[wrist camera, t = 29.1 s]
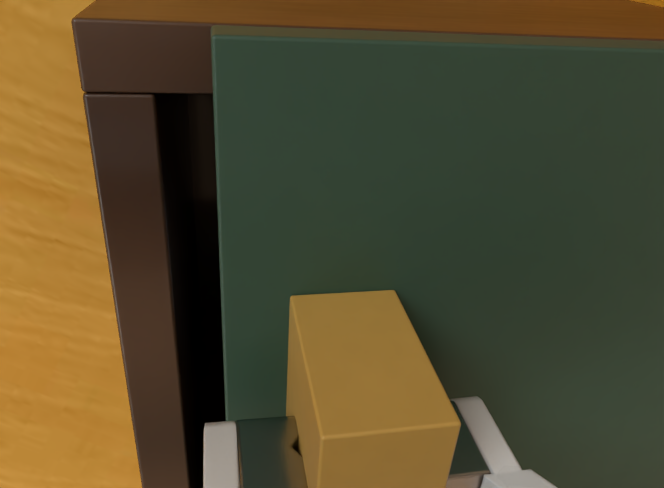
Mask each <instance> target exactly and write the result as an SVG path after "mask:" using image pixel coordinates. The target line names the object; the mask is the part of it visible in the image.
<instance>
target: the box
mask: <svg viewBox="0 0 664 488" xmlns="http://www.w3.org/2000/svg"><path fill="white" fill-rule="evenodd" d="M214 25H226V26H254V27H281V28H309V29H336V30H364V31H392V32H419V33H447V34H475V35H502V36H530V37H557V38H585V39H613V40H640V41H664V7H659V6H654V5H649V4H644V3H639V2H635V1H630V0H96V1H94V2H93V3H92V4H90V5H89V6H88V7H87V8H85V9H84V10H83V11H81V12H80V13H79V14H78V15H76V16H75V17H74V18H72V29H73V35H74V42H75V48H76V55H77V62H78V68H79V75H80V81H81V88H82V90H83V91H84V92H85V93H84V95H83V100H84V107H85V114H86V120H87V127H88V133H89V140H90V146H91V153H92V160H93V166H94V173H95V179H96V186H97V193H98V199H99V206H100V212H101V219H102V226H103V232H104V239H105V245H106V252H107V258H108V265H109V272H110V278H111V285H112V291H113V298H114V305H115V311H116V318H117V324H118V331H119V338H120V344H121V351H122V357H123V364H124V370H125V377H126V384H127V390H128V397H129V403H130V410H131V417H132V423H133V430H134V436H135V443H136V450H137V456H138V463H139V469H140V476H141V482H142V488H203V455H204V426H205V423H210V422H223V421H226V415H225V390H224V364H223V339H222V313H221V288H220V262H219V237H218V211H217V186H216V160H215V134H214V109H213V83H212V58H211V27H212V26H214Z"/></svg>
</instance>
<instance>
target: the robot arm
mask: <svg viewBox="0 0 664 488" xmlns="http://www.w3.org/2000/svg"><path fill="white" fill-rule="evenodd" d="M450 402H451V404H452V406H453V408H454V410H455V412H456V414H457V416H458V418H459V420H460V422H461V427H460V431H459V435H458V439H457V443H456V447H455V451H454V455H453V459H452V464H451V468H450V472H449V476H448V480H447V484H446V488H558V487H556V486H555V485H553V484H552V483H550V482H549V481H547V480H546V479H544V478H543V477H541V476H540V475H539V474H537V473H536V472H534V471H533V470H531V469H526V470H522V468H521V466H520V465H519V463H518V461H517V459H516V458H515V456H514V454H513V452H512V451H511V449H510V447H509V446H508V444H507V442H506V440H505V439H504V437H503V435H502V433H501V432H500V430H499V428H498V427H497V425H496V423H495V421H494V420H493V418H492V416H491V414H490V413H489V411H488V409H487V407H486V406H485V404H484V402H483V401H482V399H480V398H479V397H478V396H473V397H463V398H454V399H450ZM298 436H299V434H298V428H297V423H296V419H295V416H283V417H270V418H256V419H243V420H236V422H235V421H223V422H210V423H205V426H204V455H203V488H308V485H307V479H306V474H305V468H304V462H303V457H302V456H301V455H300V454H299V453H298Z"/></svg>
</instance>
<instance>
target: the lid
mask: <svg viewBox="0 0 664 488" xmlns="http://www.w3.org/2000/svg"><path fill="white" fill-rule="evenodd" d="M211 58H212V83H213V109H214V134H215V160H216V186H217V211H218V237H219V262H220V288H221V313H222V339H223V364H224V390H225V415H226V421H235V422H236V420H243V419H256V418H270V417H283V416H295V419H296V423H297V428H298V434H299V436H298V453H299V454H300V455H301V456H302V457H303V462H304V468H305V474H306V479H307V485H308V488H446V484H447V480H448V476H449V472H450V468H451V464H452V459H453V455H454V451H455V447H456V443H457V439H458V435H459V431H460V427H461V422H460V420H459V418H458V416H457V414H456V412H455V410H454V408H453V406H452V404H451V402H450V399H454V398H463V397H473V396H478V397H479V398H480V399H482V401H483V402H484V404H485V406H486V407H487V409H488V411H489V413H490V414H491V416H492V418H493V420H494V421H495V423H496V425H497V427H498V428H499V430H500V432H501V433H502V435H503V437H504V439H505V440H506V442H507V444H508V446H509V447H510V449H511V451H512V452H513V454H514V456H515V458H516V459H517V461H518V463H519V465H520V466H521V468H522V470H526V469H531V470H533V471H534V472H536V473H537V474H539V475H540V476H541V477H543V478H544V479H546V480H547V481H549V482H550V483H552V484H553V485H555V486H556V487H558V488H664V41H640V40H613V39H585V38H557V37H530V36H502V35H475V34H447V33H419V32H392V31H364V30H336V29H309V28H281V27H254V26H226V25H214V26H212V27H211Z"/></svg>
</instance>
